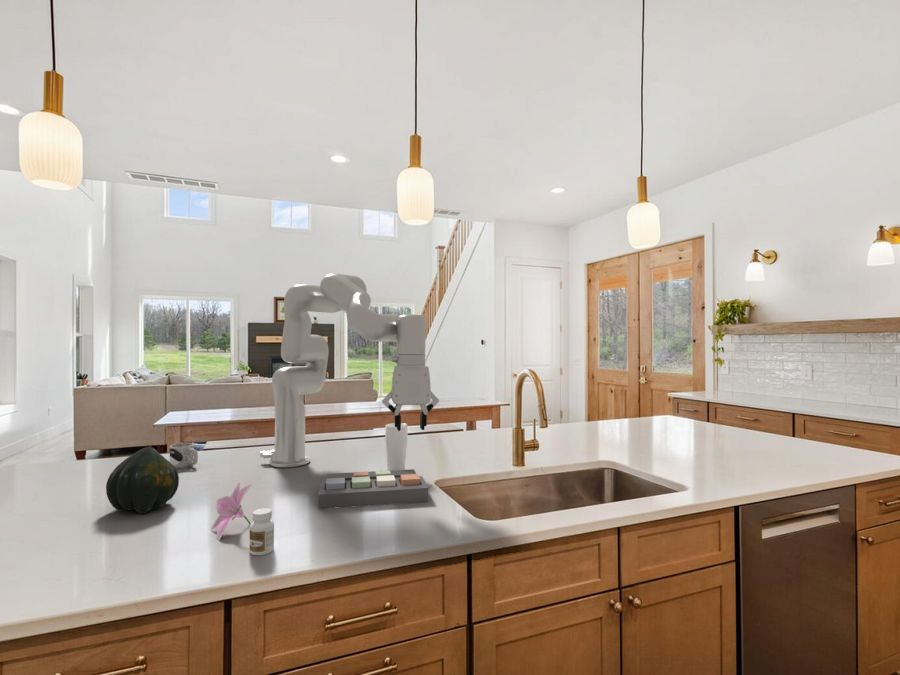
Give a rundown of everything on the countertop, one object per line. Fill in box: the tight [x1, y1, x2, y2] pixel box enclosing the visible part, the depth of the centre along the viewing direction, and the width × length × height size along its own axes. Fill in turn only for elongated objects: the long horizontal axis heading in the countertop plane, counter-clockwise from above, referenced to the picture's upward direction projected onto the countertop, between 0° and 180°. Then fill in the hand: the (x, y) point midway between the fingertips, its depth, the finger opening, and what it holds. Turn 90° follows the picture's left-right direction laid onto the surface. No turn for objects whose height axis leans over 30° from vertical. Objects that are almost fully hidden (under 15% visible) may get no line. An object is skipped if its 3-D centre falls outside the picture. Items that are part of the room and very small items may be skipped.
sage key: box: [352, 476, 370, 488], centre depth 123 cm, size 5×5×2 cm
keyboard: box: [317, 468, 429, 510], centre depth 125 cm, size 27×16×4 cm, turn 102°
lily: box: [210, 482, 252, 542], centre depth 102 cm, size 12×12×10 cm
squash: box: [105, 446, 180, 514], centre depth 115 cm, size 14×15×15 cm
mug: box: [169, 442, 199, 470], centre depth 151 cm, size 10×7×7 cm, turn 68°
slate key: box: [325, 478, 345, 490], centre depth 121 cm, size 5×5×2 cm
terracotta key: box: [400, 473, 420, 485], centre depth 126 cm, size 5×5×2 cm
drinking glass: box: [384, 422, 409, 471], centre depth 145 cm, size 7×7×15 cm
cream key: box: [376, 475, 396, 487], centre depth 124 cm, size 5×5×2 cm
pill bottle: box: [249, 507, 275, 556], centre depth 92 cm, size 4×4×8 cm
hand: (410, 428), depth 126 cm, fingers open, 5 cm apart
